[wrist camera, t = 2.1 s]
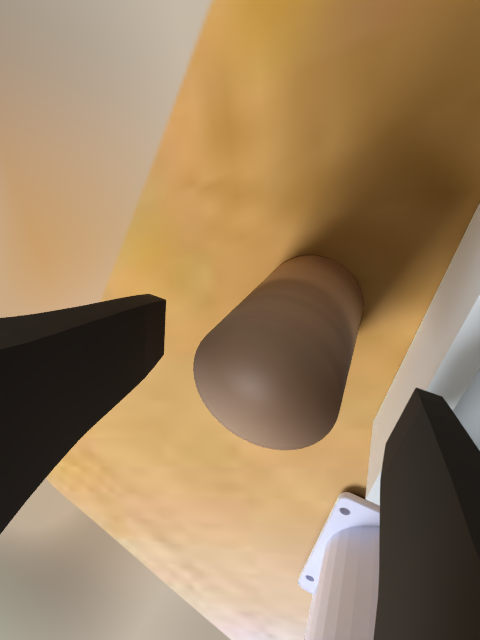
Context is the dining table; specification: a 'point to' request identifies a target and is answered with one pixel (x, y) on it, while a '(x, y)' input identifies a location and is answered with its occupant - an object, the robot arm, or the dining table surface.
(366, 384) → the dining table surface
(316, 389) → the peg
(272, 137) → the dining table surface
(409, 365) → the bore box
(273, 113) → the dining table surface
